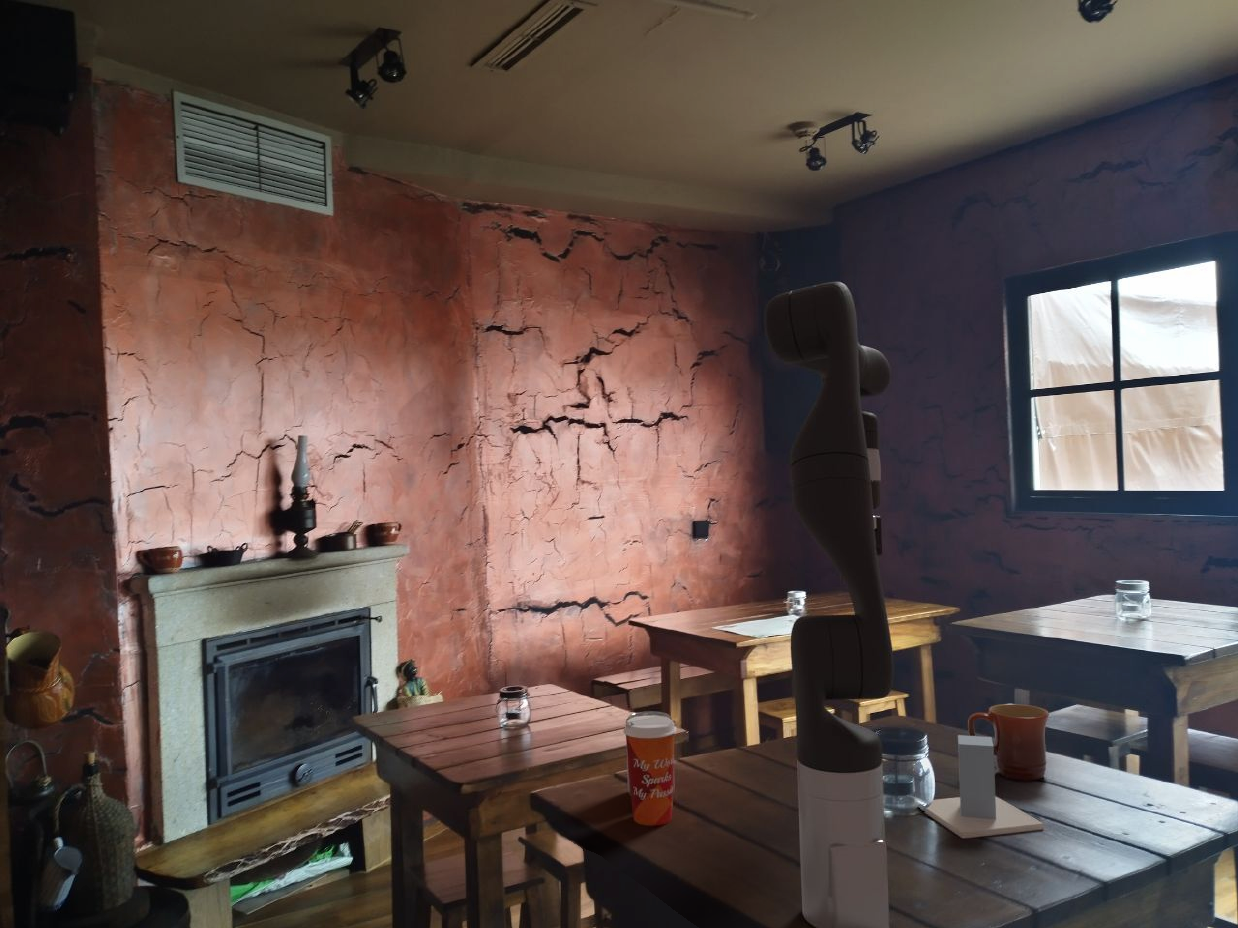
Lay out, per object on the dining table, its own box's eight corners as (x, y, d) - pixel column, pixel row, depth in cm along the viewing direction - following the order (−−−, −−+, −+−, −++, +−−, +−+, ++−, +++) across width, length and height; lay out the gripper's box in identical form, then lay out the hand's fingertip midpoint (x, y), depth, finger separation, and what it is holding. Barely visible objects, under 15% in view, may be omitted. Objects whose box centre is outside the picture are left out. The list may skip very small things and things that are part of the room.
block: (996, 819, 126) (993, 746, 126) (961, 816, 128) (958, 743, 128) (994, 807, 130) (991, 736, 131) (960, 804, 132) (957, 735, 132)
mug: (1046, 768, 149) (1044, 704, 149) (1055, 786, 141) (1053, 718, 141) (967, 763, 152) (965, 701, 153) (971, 781, 144) (969, 715, 144)
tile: (1043, 829, 124) (1043, 823, 124) (962, 838, 122) (962, 832, 122) (991, 799, 136) (991, 793, 136) (917, 806, 134) (916, 801, 134)
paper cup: (635, 831, 128) (632, 730, 128) (619, 812, 135) (616, 717, 135) (688, 824, 130) (684, 724, 130) (669, 806, 137) (666, 712, 138)
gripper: (817, 480, 151) (818, 579, 150) (849, 476, 137) (850, 586, 136) (861, 480, 152) (862, 579, 151) (897, 477, 138) (898, 585, 137)
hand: (856, 582), depth 144 cm, fingers open, 8 cm apart
